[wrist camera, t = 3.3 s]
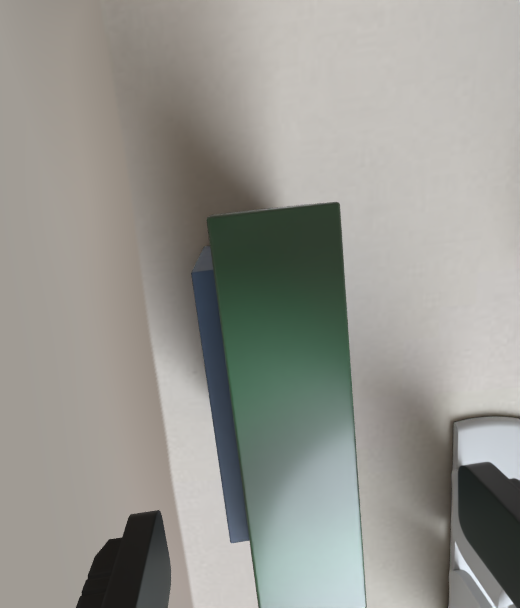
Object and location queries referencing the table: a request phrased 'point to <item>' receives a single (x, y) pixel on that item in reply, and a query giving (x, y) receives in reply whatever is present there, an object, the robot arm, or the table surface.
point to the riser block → (219, 395)
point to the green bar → (292, 400)
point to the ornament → (463, 559)
